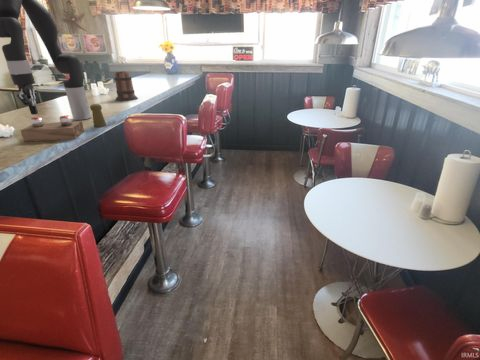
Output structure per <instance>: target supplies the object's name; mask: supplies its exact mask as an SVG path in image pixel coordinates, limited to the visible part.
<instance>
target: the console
mask: <svg viewBox="0 0 480 360" xmlns="http://www.w3.org/2000/svg"><path fill="white" fill-rule="evenodd" d="M43 124H44V125H43V126H40V127H32V124H30V125H28V126H26V127H24V128H22V129H20V133H21V136H22V139H23V142H25V143H26V142H38V141H39V142H41V141H42V142H44V141H58V139H61V140H75V139H77V138H78V137H80V136H81V135H82V134H83V133H84V132H85V128H84V124H83V121H82V120H76V121H72V124H70V125H66V126H65V125H61V122H60V121H59V122H43Z"/></svg>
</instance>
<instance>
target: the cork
mask: <svg viewBox="0 0 480 360" xmlns="http://www.w3.org/2000/svg"><path fill="white" fill-rule="evenodd" d="M89 110H90V111H91V112H92V123H93V127H94V128H102V127H103V128H104V127H106V126H107V123H106V120H105V117H104V114H103V112H102V105H101V104H100V103H92V104H91V105H89Z"/></svg>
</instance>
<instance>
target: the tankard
mask: <svg viewBox="0 0 480 360" xmlns="http://www.w3.org/2000/svg"><path fill="white" fill-rule="evenodd" d="M130 73H131V72H130V71H114V82H115V88H116V95H117V97H116V98H115V101H116V102H131V101H132V102H133V101H136V100H138V99H139V98H138V96H137V95H136V94H135V89H134V86H133V85H134V84H133V81H132V80H133V79H132V76H131V74H130Z"/></svg>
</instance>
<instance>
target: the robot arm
mask: <svg viewBox="0 0 480 360" xmlns="http://www.w3.org/2000/svg"><path fill="white" fill-rule="evenodd" d="M21 8H22V9H24V11H25V13H26V15H27V17H28V19H29V21H30V23H31V24H32V25H33V27H34V29H35V30H36V32H37V34H38V36H39V37H40V39H41V41H42V43H43V45H44V46H45V48H46V50H47V52H48V54H49V56H50V59H51V61H52V63H53V66H54V67H55V69H56V71H58V72H59V73H61V74H67V75H68V74H69V78H68V80H65V81H64V82H63V86H64V91H65V93H66V97H67V101H68V105H69V107H70V111H71V112H70V113H71V115H72V119H73V120H76V121H82V120H87V119H91V118H92V114H91V109H90V105H89V102H88V98H87V94H86V91H85V86H84V77H83V71H82V65H81V62H80V60H79V58H78V57H77V56H76V55H75V54H63V53H62V50H61V49H60V47H59V44H58V43H59V42H58V34H59V33H58V26H57V24H56V22H55V20H54V18H53V17H52V14H51V13H50V11H49V9H47V8H46V6H44V5H43V4H42V3H40V1H38V0H0V38H1V39H2V38H3V39H5V38H6V39H7V38H9V39H10V43H7V44H3V45H2V46H1V50H2V53H3V55H4V58H5V61H6V66H7V70H8V72H9V75H10V77H11V80H12V81H11V82H12V84H13V85H14V86H16V87H18V92H19V93H18V94H16V97H17V98H18V99H19V101H20V102H21V103H22V104H23V105H24V106H27V107H28V109H29V111H30V115H38V114H39V111H38V108H37V106H36V105H37V104H38V103H39V102H38V101H39V100H38V99H39V94H38V93H39V90H37V89H36V90H35V89H34V85H35V84H36V81H35V78H34V75H33V72H32V70H31V69H32V68H31V65H30V64H29V61H28V59H27V55H26V52H25V47H24V29H23V27H22V24H21V23H20V21H19V20H18V19H19V18H20V15H21Z"/></svg>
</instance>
